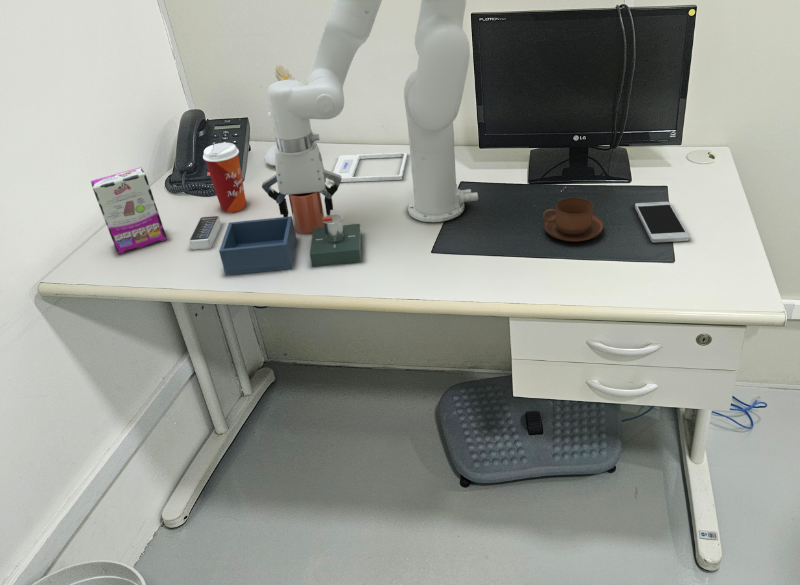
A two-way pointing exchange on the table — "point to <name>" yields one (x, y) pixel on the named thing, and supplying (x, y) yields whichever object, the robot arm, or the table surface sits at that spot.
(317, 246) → the green dial base
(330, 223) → the rotary dial knob
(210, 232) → the multiport hub
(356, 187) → the table surface
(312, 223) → the cup
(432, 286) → the table surface
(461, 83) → the robot arm
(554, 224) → the cup and saucer
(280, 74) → the flower in vase
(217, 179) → the coffee cup
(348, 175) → the photo frame
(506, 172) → the table surface
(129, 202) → the candy bar box
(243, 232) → the basin
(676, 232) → the smartphone
